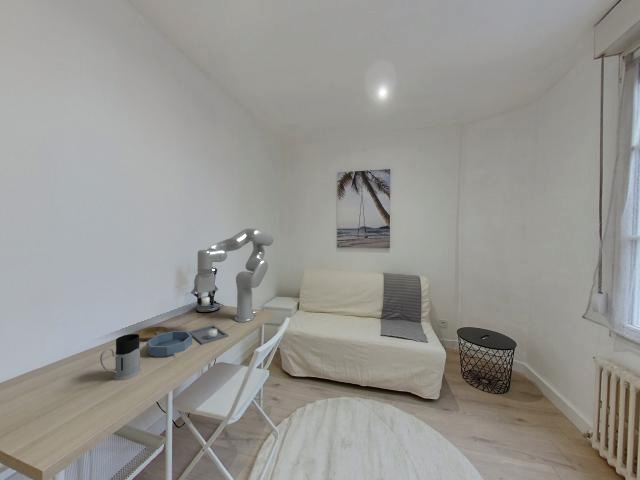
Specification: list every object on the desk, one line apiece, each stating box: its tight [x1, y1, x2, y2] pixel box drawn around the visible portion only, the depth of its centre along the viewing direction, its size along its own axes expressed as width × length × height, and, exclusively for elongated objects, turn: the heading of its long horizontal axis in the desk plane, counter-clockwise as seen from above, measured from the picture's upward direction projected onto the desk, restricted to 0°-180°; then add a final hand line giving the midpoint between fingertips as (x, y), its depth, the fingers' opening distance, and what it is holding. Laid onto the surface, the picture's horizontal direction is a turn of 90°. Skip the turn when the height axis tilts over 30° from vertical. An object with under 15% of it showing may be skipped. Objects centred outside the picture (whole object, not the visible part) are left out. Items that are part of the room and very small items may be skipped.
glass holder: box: [99, 333, 142, 381], centre depth 98 cm, size 9×14×15 cm, turn 164°
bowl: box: [146, 330, 193, 358], centre depth 123 cm, size 18×18×5 cm
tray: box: [188, 324, 229, 345], centre depth 137 cm, size 14×19×2 cm
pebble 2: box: [207, 329, 217, 340], centre depth 134 cm, size 5×5×4 cm
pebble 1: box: [199, 295, 211, 307], centre depth 140 cm, size 5×5×4 cm
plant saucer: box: [135, 326, 169, 342], centre depth 136 cm, size 15×15×3 cm
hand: (204, 303), depth 140 cm, fingers closed on pebble 1, 4 cm apart
